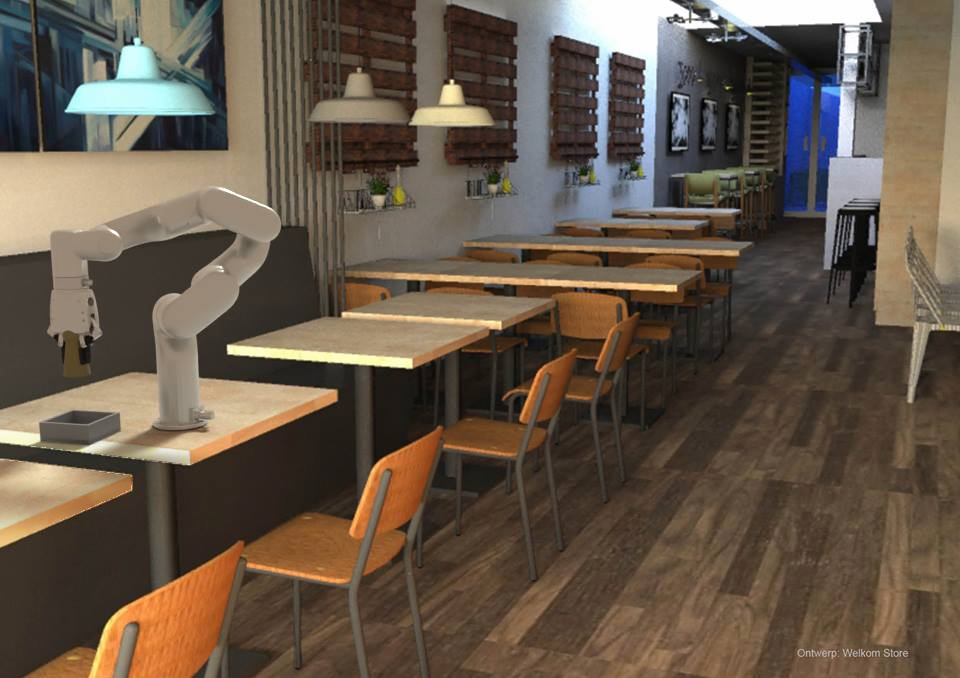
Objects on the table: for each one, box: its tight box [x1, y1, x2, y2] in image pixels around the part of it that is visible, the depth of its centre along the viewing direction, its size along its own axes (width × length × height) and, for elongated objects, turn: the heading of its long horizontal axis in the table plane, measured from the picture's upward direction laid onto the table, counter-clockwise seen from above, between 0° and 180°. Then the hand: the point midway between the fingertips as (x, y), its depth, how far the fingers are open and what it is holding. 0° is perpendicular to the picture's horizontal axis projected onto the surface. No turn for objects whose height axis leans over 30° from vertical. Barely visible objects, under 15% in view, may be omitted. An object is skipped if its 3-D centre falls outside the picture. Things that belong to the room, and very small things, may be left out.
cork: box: [62, 331, 92, 378], centre depth 247 cm, size 6×6×11 cm
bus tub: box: [38, 409, 122, 446], centre depth 249 cm, size 13×13×4 cm
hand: (76, 362), depth 247 cm, fingers closed on cork, 3 cm apart
